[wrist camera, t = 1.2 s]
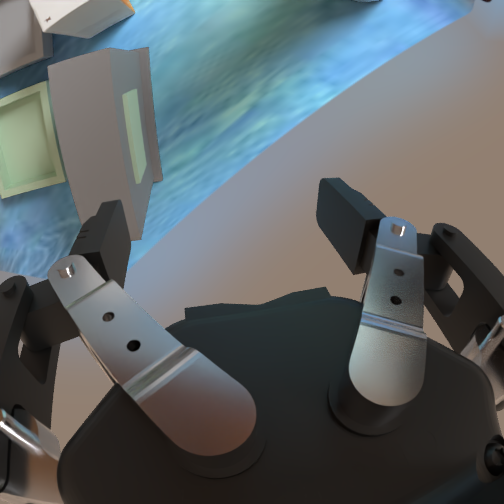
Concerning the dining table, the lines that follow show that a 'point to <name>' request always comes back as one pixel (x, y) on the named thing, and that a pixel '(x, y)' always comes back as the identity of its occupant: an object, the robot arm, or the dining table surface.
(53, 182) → the sage tray
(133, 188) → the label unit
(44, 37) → the grey tray
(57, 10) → the small box
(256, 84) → the dining table surface
